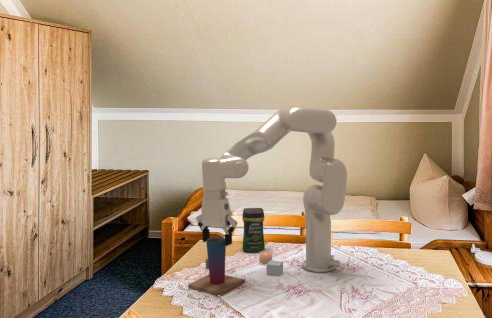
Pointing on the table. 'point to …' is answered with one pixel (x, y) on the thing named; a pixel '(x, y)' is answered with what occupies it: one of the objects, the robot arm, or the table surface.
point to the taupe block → (207, 264)
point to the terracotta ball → (265, 256)
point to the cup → (216, 259)
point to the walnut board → (215, 289)
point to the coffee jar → (253, 230)
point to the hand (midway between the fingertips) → (217, 242)
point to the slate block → (274, 268)
